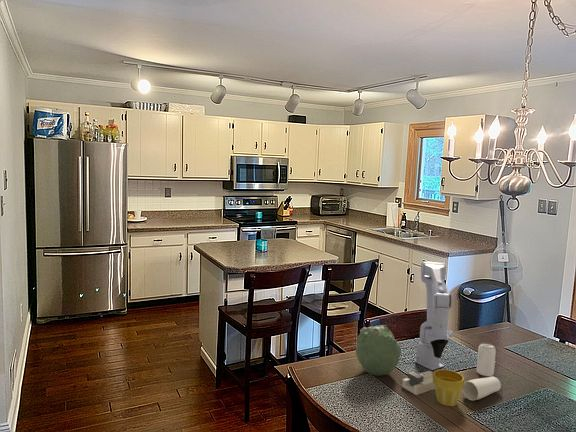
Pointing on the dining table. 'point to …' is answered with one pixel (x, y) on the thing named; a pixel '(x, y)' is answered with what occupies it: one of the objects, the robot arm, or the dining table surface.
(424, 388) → the slider console
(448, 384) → the plant pot
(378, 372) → the cabbage
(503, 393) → the dining table surface
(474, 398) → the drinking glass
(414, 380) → the fader tab
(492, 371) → the can
